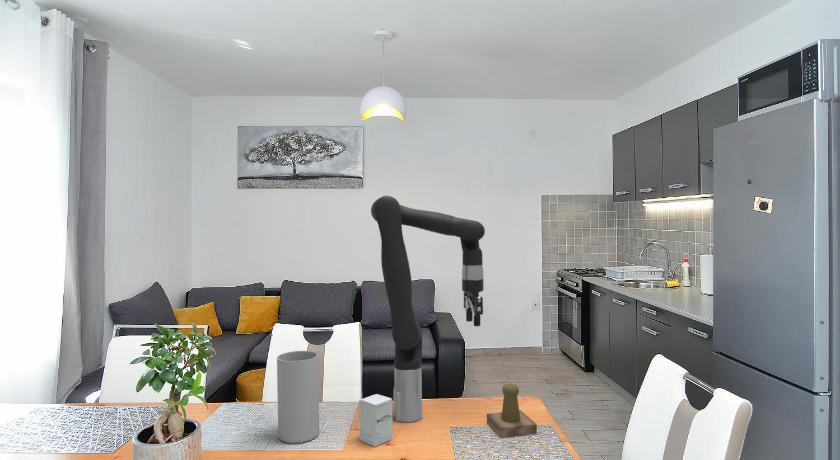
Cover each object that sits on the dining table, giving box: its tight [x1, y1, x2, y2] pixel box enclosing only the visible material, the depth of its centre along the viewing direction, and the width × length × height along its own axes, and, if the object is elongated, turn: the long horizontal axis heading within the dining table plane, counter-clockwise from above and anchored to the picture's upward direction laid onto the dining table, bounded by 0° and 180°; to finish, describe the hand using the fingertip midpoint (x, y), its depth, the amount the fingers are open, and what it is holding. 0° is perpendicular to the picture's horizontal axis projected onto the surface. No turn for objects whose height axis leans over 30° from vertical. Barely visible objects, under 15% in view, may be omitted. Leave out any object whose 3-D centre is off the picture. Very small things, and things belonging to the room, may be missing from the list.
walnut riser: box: [486, 409, 538, 439], centre depth 163 cm, size 12×12×3 cm
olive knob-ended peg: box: [501, 383, 520, 423], centre depth 162 cm, size 6×6×11 cm
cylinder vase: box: [276, 350, 320, 444], centre depth 159 cm, size 12×12×25 cm
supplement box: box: [358, 393, 393, 448], centre depth 155 cm, size 7×7×13 cm
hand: (473, 323), depth 179 cm, fingers open, 8 cm apart
